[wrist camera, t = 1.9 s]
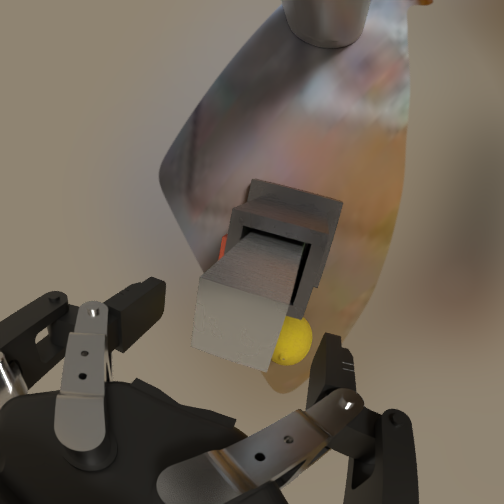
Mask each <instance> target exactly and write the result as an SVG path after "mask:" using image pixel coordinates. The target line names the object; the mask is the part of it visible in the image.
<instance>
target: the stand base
mask: <svg viewBox="0 0 504 504" xmlns="http://www.w3.org/2000/svg"><path fill="white" fill-rule="evenodd" d="M342 205H343V202H342V201H339V200H336V199H332V198H329V197H325V196H322V195H318V194H314V193H311V192H307V191H303V190H299V189H296V188H292V187H288V186H284V185H280V184H276V183H271V182H267V181H263V180H259V179H252V181H251V186H250V190H249V195H248V200H247V203H244V204H242V205H240V206H237V207H235V208H233V209H232V214H231V219H230V225H229V230H228V234H226V235H225V236H223V238H222V243H221V248H220V254H219V260H220V259H221V258H222V257H223V256H224V255H225V254H226V253H227V252H229V251H230V250H231V249H232V248H233V247H234V246H235V245H236V244H238V243H239V242H240V241H241V240H242V239H243V238H244V237H245V236H247V235H248V234H249V233H250V232H251V231H252V230H253V229H254V228H255V229H258V230H262V231H266V232H269V233H273V234H277V235H280V236H284V237H288V238H291V239H295V240H298V241H302V242H305V245H304V249H303V252H302V256H301V259H300V263H299V267H298V272H297V276H296V280H295V284H294V288H293V292H292V296H291V300H290V304H289V307H288V310H287V313H286V316H289V317H292V318H296V319H299V320H302V318H303V315H304V312H305V309H306V307H307V304H308V301H309V298H310V295H311V292H312V289H313V287H315V288H318V285H319V282H320V279H321V276H322V273H323V270H324V267H325V263H326V260H327V257H328V254H329V251H330V247H331V244H332V241H333V237H334V234H335V231H336V227H337V224H338V220H339V216H340V213H341V209H342Z"/></svg>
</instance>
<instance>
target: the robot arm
mask: <svg viewBox="0 0 504 504" xmlns="http://www.w3.org/2000/svg"><path fill="white" fill-rule="evenodd" d="M281 1H282V5H283V8H284V12H285V15H286V18H287V22H288V25H289V27H290V29H291V30H292V32H293V33H294V34H295V35H296V36H297V37H298V38H300V39H301V40H303V41H304V42H306V43H309V44H311V45H314V46H318V47H323V48H339V47H344V46H347V45H349V44H352V43H353V42H355V41H356V40H357V39H358V38H359V37H360V36H361V34H362V32H363V29H364V25H365V21H366V17H367V14H368V10H369V6H370V2H371V0H281ZM165 292H166V283H165V282H164V281H162V280H159V279H157V278H154V277H150V278H148V279H147V280H145V281H144V282H142V283H141V282H139V283H135V284H132V285H130V286H128V287H127V288H125V289H124V290H122V291H120V292H119V293H117V294H116V295H114V296H113V297H111V298H110V299H108V300H106V301H105V302H104V303H101V302H98V301H89V302H86V303H84V304H82V305H81V306H80V307H78V306H74V305H70V304H68V299H67V295H66V294H64V293H63V292H59V291H52V292H48V293H46V294H44V295H43V296H41V297H39V298H38V299H36V300H34V301H33V302H31V303H30V304H28V305H27V306H25V307H23V308H21V309H20V310H18V311H17V312H15V313H13V314H12V315H10V316H9V317H7V318H6V319H4V320H3V321H1V322H0V504H288V502H287V501H286V499H285V497H284V496H283V494H282V492H281V489H282V488H283V487H285V486H286V485H288V484H289V483H290V482H292V481H293V480H294V479H295V478H297V477H298V476H299V475H300V474H301V473H302V472H303V471H305V470H306V469H307V468H309V467H310V466H311V465H313V464H314V463H315V462H316V461H318V460H319V459H320V458H321V457H322V456H324V455H325V454H326V453H327V452H328V451H330V450H331V449H333V450H335V451H338V452H340V453H342V454H344V455H346V456H349V462H348V472H347V480H346V488H345V496H344V502H343V504H419V492H418V476H417V463H416V453H415V445H414V437H413V430H412V423H411V420H410V418H409V417H408V416H407V415H406V414H405V413H404V412H402V411H400V410H397V409H388V410H386V411H385V412H384V413H383V414H382V415H381V414H378V413H376V412H374V411H371V410H369V409H367V408H366V407H364V400H363V398H362V397H361V396H360V395H359V394H358V393H357V392H356V382H355V372H354V366H353V365H354V362H353V356H352V354H351V353H350V351H349V350H348V349H346V348H342V347H341V336H338V335H334V334H330V333H325V334H324V336H323V338H322V340H321V343H320V345H319V347H318V350H317V352H316V354H315V356H314V359H313V362H312V365H311V369H310V378H309V387H308V395H307V403H306V411H304V412H303V411H302V410H301V409H298V410H296V411H294V412H292V413H290V414H289V415H287V416H285V417H284V418H282V419H280V420H278V421H277V422H275V423H274V424H271V425H270V426H268V427H266V428H264V429H262V430H261V431H259V432H257V433H255V434H253V435H251V436H249V437H248V436H247V435H246V434H244V433H243V432H242V431H240V430H239V429H237V428H236V427H234V425H235V422H236V419H234V418H231V417H228V416H225V415H222V414H219V413H216V412H214V411H211V410H206V409H200V408H195V407H190V406H185V405H181V404H179V403H177V402H176V401H175V400H173V399H172V398H171V397H169V396H168V395H166V394H165V393H164V392H162V391H161V390H160V389H158V388H156V387H154V386H152V385H150V384H148V383H146V382H144V381H142V380H140V379H138V378H136V379H135V380H134V381H133V382H132V383H126V382H118V381H113V365H112V351H113V350H114V349H116V350H118V351H120V352H122V353H124V352H125V351H126V350H127V349H128V348H130V347H131V345H133V344H134V343H135V342H136V341H137V340H138V339H139V338H140V337H141V336H142V335H143V334H144V333H145V332H146V331H148V330H149V329H150V328H151V327H152V326H153V325H154V324H155V323H156V322H157V321H158V320H159V319H160V318H161V316H162V314H163V312H164V305H165ZM46 327H47V329H48V333H49V334H48V335H47V336H46V337H45V338H43V339H42V340H41V341H39V342H38V343H37V344H36V343H35V338H36V335H37V334H38V333H39V332H40V331H42V330H43V329H44V328H46ZM64 357H65V359H64V366H63V373H62V380H61V389H60V390H57V391H50V392H43V393H35V394H27V393H28V390H29V389H30V388H31V387H32V386H33V385H34V384H35V383H36V382H37V381H39V380H40V379H41V377H43V376H44V375H45V374H46V373H47V372H48V371H49V370H51V369H52V368H53V367H54V366H55V365H56V364H57V363H58V362H59V361H60V360H62V359H63V358H64Z"/></svg>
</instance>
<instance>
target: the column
mask: <svg viewBox="0 0 504 504" xmlns="http://www.w3.org/2000/svg"><path fill="white" fill-rule="evenodd" d="M304 245H305V242H302V241H298V240H295V239H291V238H288V237H284V236H280V235H277V234H273V233H269V232H266V231H262V230H258V229H255V228H254V229H253V230H252V231H251V232H250V233H249V234H248V235H247V236H245V237H244V238H243V239H242V240H241V241H240V242H239V243H238V244H236V245H235V246H234V247H233V248H232V249H231V250H230V251H229V252H227V253H226V254H225V255H224V256H223V257H222V258H221V259H220V260H218V261H217V262H216V263H215V264H214V265H213V266H212V267H211V268H209V269H208V270H207V271H206V272H205V273H204V274H203V275H202V276H201V277H200V279H199V286H198V293H197V301H196V309H195V317H194V324H193V333H192V341H191V347H193V348H196V349H199V350H201V351H204V352H207V353H209V354H212V355H215V356H218V357H221V358H223V359H226V360H229V361H232V362H235V363H238V364H241V365H244V366H247V367H250V368H254V369H257V370H260V371H264V372H267V370H268V367H269V364H270V361H271V358H272V356H273V353H274V350H275V347H276V344H277V341H278V338H279V335H280V332H281V329H282V326H283V323H284V320H285V316H286V313H287V310H288V307H289V304H290V300H291V296H292V292H293V288H294V284H295V280H296V276H297V272H298V267H299V263H300V259H301V256H302V252H303V249H304Z"/></svg>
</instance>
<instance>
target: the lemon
mask: <svg viewBox="0 0 504 504" xmlns="http://www.w3.org/2000/svg"><path fill="white" fill-rule="evenodd" d="M311 343H312V330H311V328H310V325H309V323H308V322H307V321H306V319H305V318H302V320H299V319H296V318H292V317H289V316H285V320H284V323H283V326H282V329H281V332H280V335H279V338H278V341H277V344H276V347H275V350H274V353H273V356H272V358H271V360H272V361H274V362H275V363H277V364H280V365H286V366H287V365H293V364H296V363H298V362H300V361H301V360H302V359H303V358H304V357H305V356H306V355H307V353H308V351H309V349H310V347H311Z"/></svg>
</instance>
